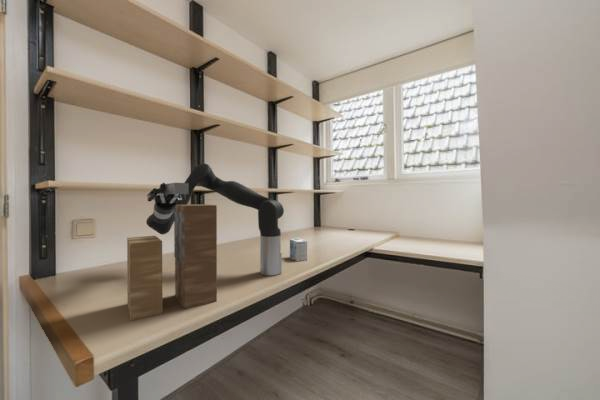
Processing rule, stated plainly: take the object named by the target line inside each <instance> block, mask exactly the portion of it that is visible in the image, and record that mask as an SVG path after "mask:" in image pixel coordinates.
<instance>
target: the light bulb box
mask: <svg viewBox="0 0 600 400" xmlns="http://www.w3.org/2000/svg"><path fill="white" fill-rule="evenodd" d="M289 258H290V259H292V258H293V259H292V260H294V259H295V260H304V261H308V240H306V239H303V238H300V237H299V238H297V237H296V238H290V239H289ZM295 260H294V261H295Z"/></svg>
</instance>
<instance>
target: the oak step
mask: <svg viewBox="0 0 600 400" xmlns="http://www.w3.org/2000/svg"><path fill="white" fill-rule="evenodd" d="M126 239H127V240H126V242H127V243H126V244H127V245H126V247H127V249H126V250H127V254H126V255H127V256H126V257H127V260H126V262H127V273H126V274H127V280H126V281H127V286H126V287H127V288H126V289H127V291H126V292H127V308H128V314H129V319H130V321H134V320H138V319H143V318H146V317H150V316H155V315H158V314H163V241H162V239H160V238H159V237H158V236H156V235H149V236H148V235H146V236H145V235H144V236H133V237H131V236H130V237H126Z"/></svg>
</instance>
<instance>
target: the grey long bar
mask: <svg viewBox="0 0 600 400" xmlns="http://www.w3.org/2000/svg"><path fill="white" fill-rule="evenodd" d="M163 194H189V183H185V182H168V183H165V190H164V193H163Z"/></svg>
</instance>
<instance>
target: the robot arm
mask: <svg viewBox="0 0 600 400" xmlns="http://www.w3.org/2000/svg"><path fill="white" fill-rule="evenodd" d="M184 183H189V194H163V193H164V190H165V184H166V183H165V182H162V183H160V185H159V188H157V187H155V188H153V189H152V190H150V192H149V193H148V194H147V195H146V196H147V197H146V198H147V202H152V201H154V204H153V205H154V206H153V212H152V213H151V215H149V216H148V217H147V219H146V220H145V221H146V222H145V223H146V225H147V226H148V227H149V228H150V229H152V230H154V231H155V232H157V233H158V234H160V235H166V234H167V233H169V232H170V231H171V229H172V227H173V225H174V211H175V205H189V201H190V200H191V197H192V194H193V192H194V190H195V188H196V186H197V185H199V186H201V187H203V188H205V189H208V190H210V191H212V192H215V193H217V194H219V195H220V196H222V197H224V198H226V199H228V200H230V201H231V202H234V203H236V204H238V205H241V206H243V207H244V206H245V207H249V208H253V209H254V210H257V220H258V223H257V224H258V229H259V232H260V239H259V241H260V245H259V250H260V253H259V255H260V256H259V257H260V260H259V261H260V267H259V269H260V274H261V275H263V276H277V275H281V274H282V273H283V272H282V271H283V270H282V266H283V265H282V263H283V260H282V259H283V257H282V251H281V250H282V249H281V247H282V245H281V243H282V242H281V240H282V239H281V229H280V227H278V226H279V225H278V219H280V218H282V217H283V216H284V206H283V205H282V203H281V202H279V201H278V200H275V199H272V198H269V197H267V196H264V195H262V194H261V193H258V192H257V191H254V190H253V189H251V188H249V187H248V186H246V185H244V184H242V183H239V182H237V181H235V180H227V181H226V180H223V179H221V178H219V177H218V176H217V175H216V174H215V173H214V171H213V170H212V167H211V166H210V164H207V163H200V164H198V165H196V166H195V167H194V168H193V169H192V171H191V173H190V174H189V175H188V177H187V178H186V180H185V181H184Z"/></svg>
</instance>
